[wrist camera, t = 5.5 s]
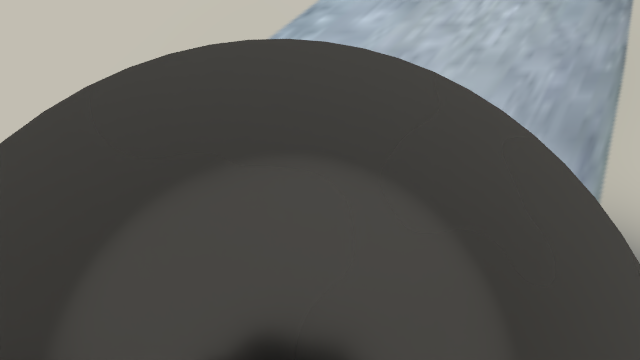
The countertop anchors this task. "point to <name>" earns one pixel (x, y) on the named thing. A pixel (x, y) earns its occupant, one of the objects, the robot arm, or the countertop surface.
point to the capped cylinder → (301, 220)
